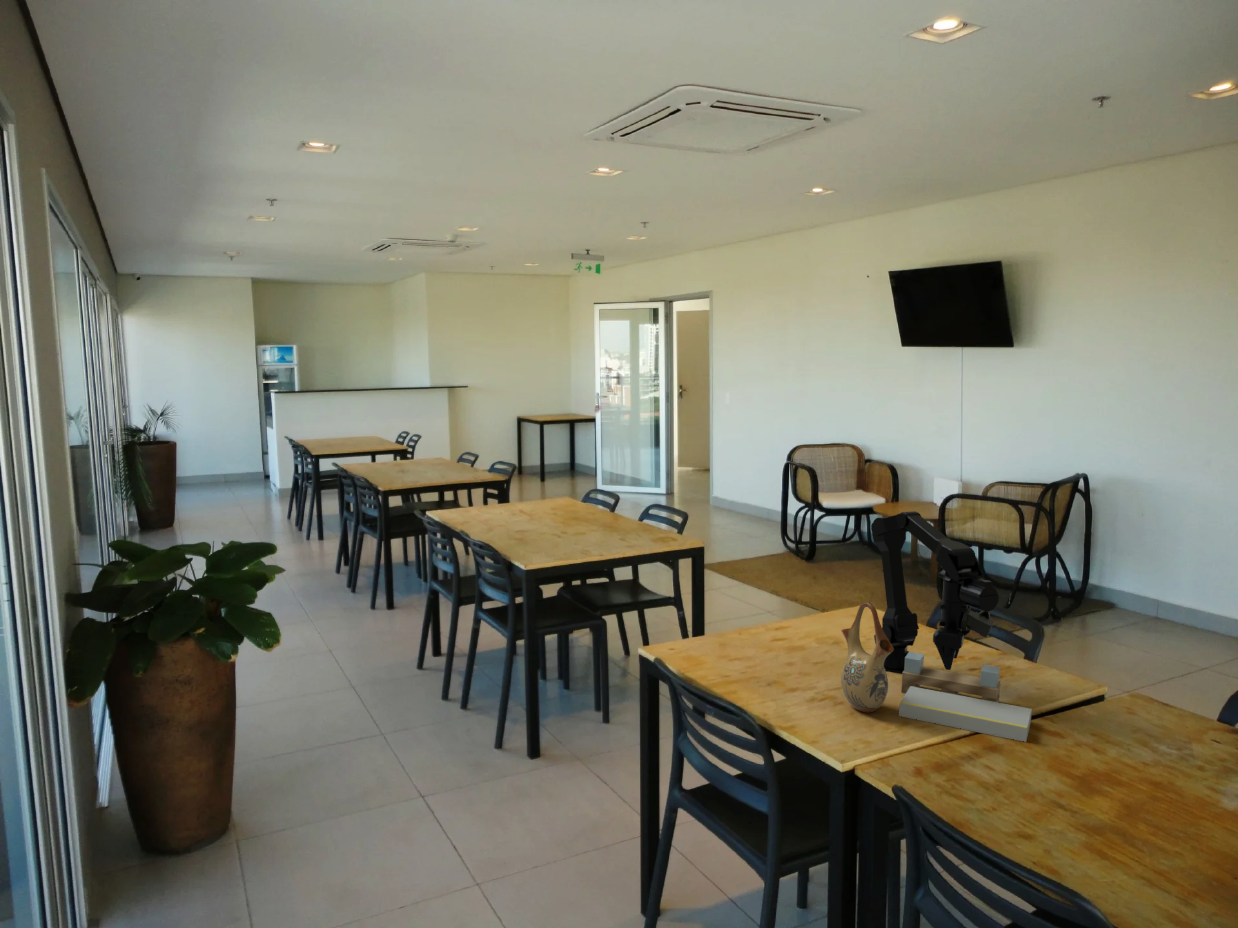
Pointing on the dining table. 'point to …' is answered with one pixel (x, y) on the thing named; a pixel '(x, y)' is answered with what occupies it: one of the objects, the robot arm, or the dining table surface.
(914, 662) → the grey small block
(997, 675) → the block
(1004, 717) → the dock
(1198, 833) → the dining table surface
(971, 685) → the pallet
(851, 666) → the ceramic vessel
